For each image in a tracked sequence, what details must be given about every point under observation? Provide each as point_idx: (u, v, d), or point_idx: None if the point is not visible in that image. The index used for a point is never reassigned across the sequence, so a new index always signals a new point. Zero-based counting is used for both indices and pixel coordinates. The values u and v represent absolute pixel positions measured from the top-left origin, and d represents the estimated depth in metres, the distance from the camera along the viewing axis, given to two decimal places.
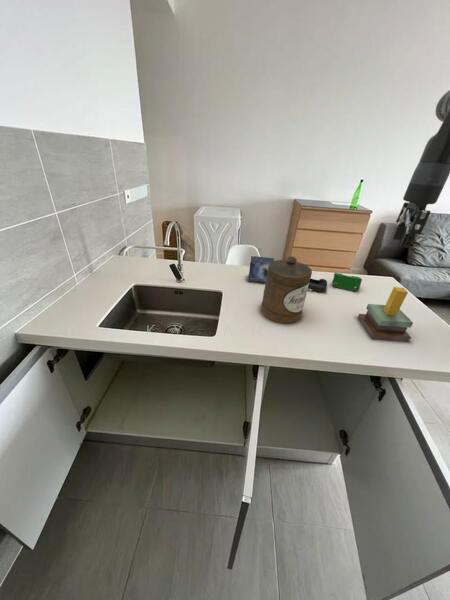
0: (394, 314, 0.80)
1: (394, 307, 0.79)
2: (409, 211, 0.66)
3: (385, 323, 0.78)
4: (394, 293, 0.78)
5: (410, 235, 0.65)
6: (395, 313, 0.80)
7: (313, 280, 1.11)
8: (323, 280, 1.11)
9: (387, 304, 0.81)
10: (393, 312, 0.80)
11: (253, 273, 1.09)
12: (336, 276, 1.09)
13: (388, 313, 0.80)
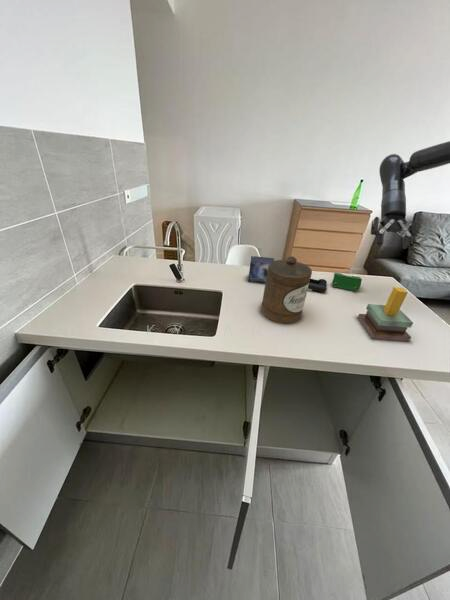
0: (394, 314, 0.80)
1: (394, 307, 0.79)
2: None
3: (385, 323, 0.78)
4: (394, 293, 0.78)
5: (376, 235, 0.88)
6: (395, 313, 0.80)
7: (313, 280, 1.11)
8: (323, 280, 1.11)
9: (387, 304, 0.81)
10: (393, 312, 0.80)
11: (253, 273, 1.09)
12: (336, 276, 1.09)
13: (388, 313, 0.80)
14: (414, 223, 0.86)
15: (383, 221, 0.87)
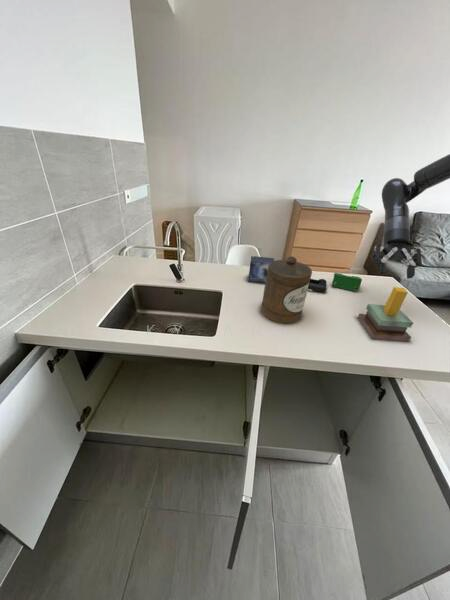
0: (394, 314, 0.80)
1: (394, 307, 0.79)
2: None
3: (385, 323, 0.78)
4: (394, 293, 0.78)
5: (378, 264, 0.83)
6: (395, 313, 0.80)
7: (313, 280, 1.11)
8: (323, 280, 1.11)
9: (387, 304, 0.81)
10: (393, 312, 0.80)
11: (253, 273, 1.09)
12: (336, 276, 1.09)
13: (388, 313, 0.80)
14: (419, 251, 0.81)
15: (385, 249, 0.83)
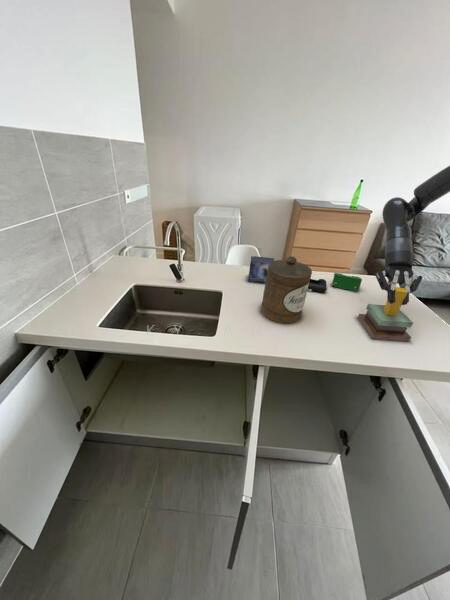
0: (394, 314, 0.80)
1: (394, 307, 0.79)
2: None
3: (385, 323, 0.78)
4: None
5: (387, 291, 0.79)
6: (395, 313, 0.80)
7: (313, 280, 1.11)
8: (322, 280, 1.11)
9: (387, 304, 0.81)
10: (393, 312, 0.80)
11: (253, 273, 1.09)
12: (336, 276, 1.09)
13: (388, 313, 0.80)
14: (420, 279, 0.78)
15: (388, 272, 0.79)
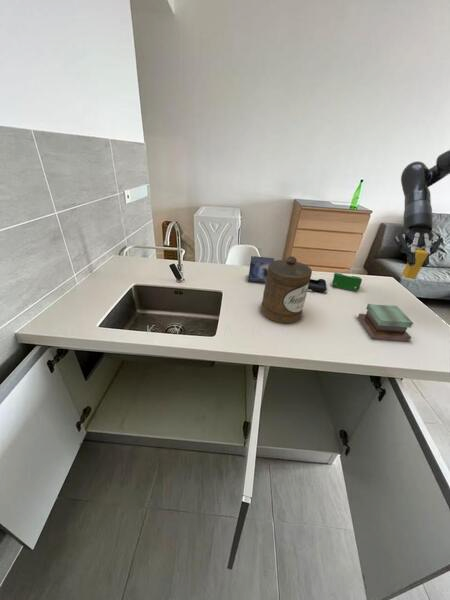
0: (413, 277, 0.80)
1: (413, 270, 0.79)
2: None
3: (385, 323, 0.78)
4: None
5: (407, 254, 0.79)
6: (414, 276, 0.80)
7: (312, 281, 1.11)
8: (322, 280, 1.11)
9: (406, 267, 0.81)
10: (413, 275, 0.80)
11: (253, 273, 1.09)
12: (336, 276, 1.09)
13: (407, 276, 0.81)
14: (440, 241, 0.78)
15: (408, 235, 0.79)
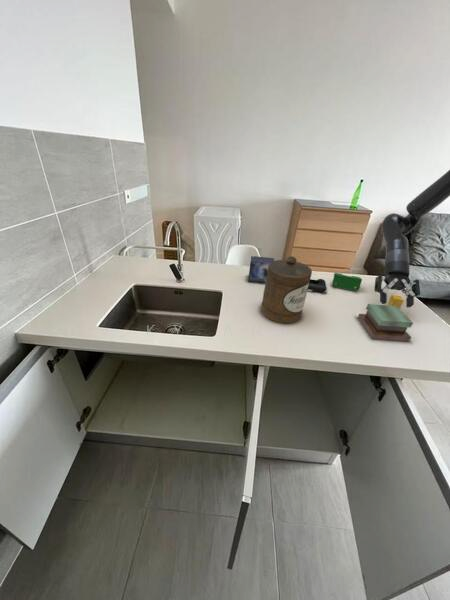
0: None
1: None
2: None
3: (385, 323, 0.78)
4: (392, 300, 0.88)
5: (380, 293, 0.89)
6: None
7: (312, 281, 1.11)
8: (322, 280, 1.11)
9: None
10: None
11: (253, 273, 1.09)
12: (336, 276, 1.09)
13: None
14: (418, 282, 0.87)
15: (387, 279, 0.89)
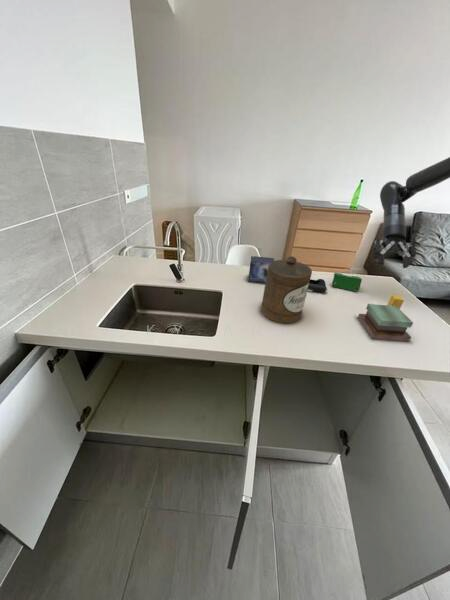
0: None
1: None
2: None
3: (385, 323, 0.78)
4: (392, 300, 0.88)
5: (378, 255, 0.95)
6: None
7: (312, 281, 1.11)
8: (321, 280, 1.11)
9: None
10: None
11: (253, 273, 1.09)
12: (336, 276, 1.09)
13: None
14: (413, 244, 0.93)
15: (384, 242, 0.95)
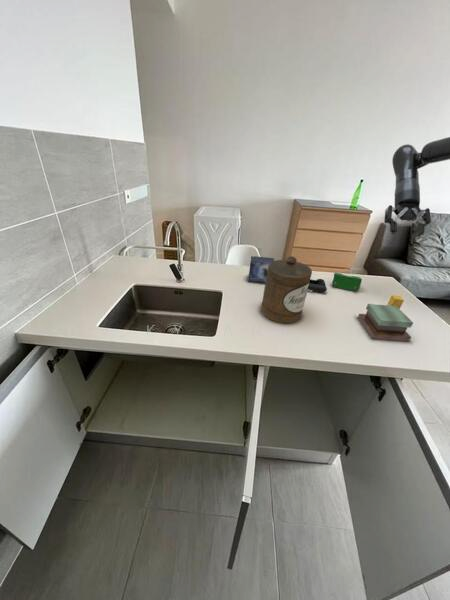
0: None
1: None
2: None
3: (385, 323, 0.78)
4: (392, 300, 0.88)
5: (390, 223, 0.89)
6: None
7: (312, 281, 1.11)
8: (321, 280, 1.11)
9: None
10: None
11: (253, 273, 1.09)
12: (336, 276, 1.09)
13: None
14: (428, 211, 0.87)
15: (397, 209, 0.89)
